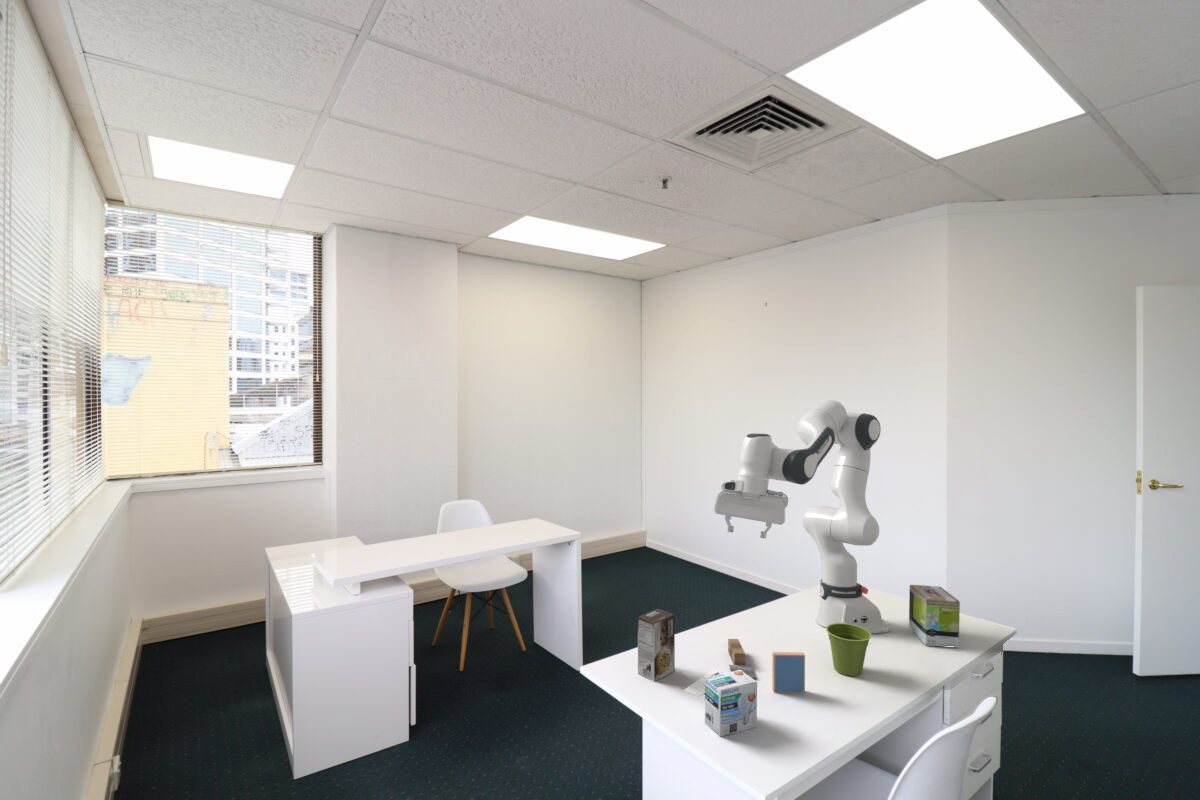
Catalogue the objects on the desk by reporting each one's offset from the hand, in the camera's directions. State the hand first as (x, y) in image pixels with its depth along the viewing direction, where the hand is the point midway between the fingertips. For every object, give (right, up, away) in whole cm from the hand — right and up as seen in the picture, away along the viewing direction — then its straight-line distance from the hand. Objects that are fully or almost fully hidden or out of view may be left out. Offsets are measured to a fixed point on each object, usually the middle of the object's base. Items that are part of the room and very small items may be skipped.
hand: (746, 535), depth 170 cm
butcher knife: (-14, -37, -14) cm, 42 cm away
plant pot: (+27, -37, -6) cm, 46 cm away
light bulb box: (-12, -37, -33) cm, 51 cm away
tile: (+7, -37, -17) cm, 41 cm away
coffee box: (-27, -37, -7) cm, 46 cm away
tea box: (+64, -37, +17) cm, 76 cm away
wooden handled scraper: (-3, -37, -2) cm, 37 cm away
